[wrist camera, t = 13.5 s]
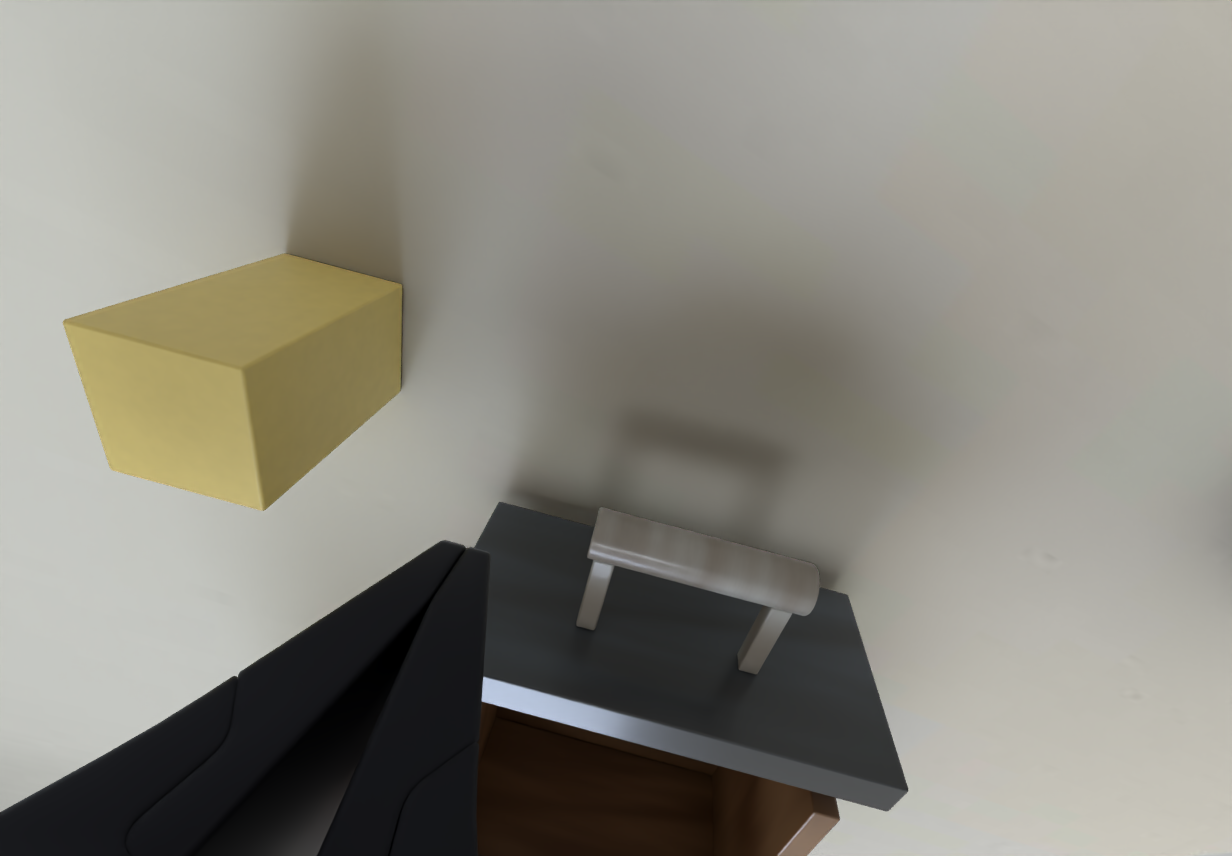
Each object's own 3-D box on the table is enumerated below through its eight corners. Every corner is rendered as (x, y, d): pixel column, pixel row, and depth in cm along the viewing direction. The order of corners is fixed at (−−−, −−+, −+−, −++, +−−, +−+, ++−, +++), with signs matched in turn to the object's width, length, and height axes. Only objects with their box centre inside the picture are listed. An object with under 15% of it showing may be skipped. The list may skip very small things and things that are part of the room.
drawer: (512, 403, 18) (419, 540, 12) (903, 507, 18) (1004, 697, 12) (472, 696, 26) (405, 860, 20) (736, 767, 26) (746, 953, 20)
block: (403, 283, 17) (242, 368, 11) (401, 391, 19) (263, 513, 13) (284, 252, 17) (59, 319, 11) (294, 363, 19) (108, 471, 13)
